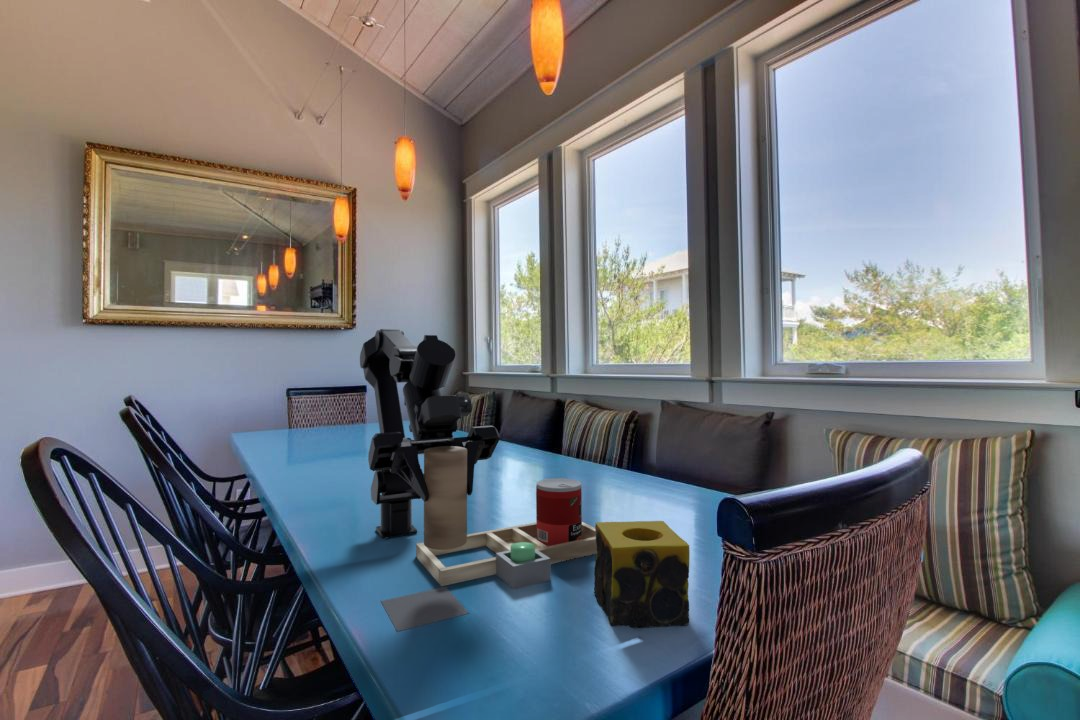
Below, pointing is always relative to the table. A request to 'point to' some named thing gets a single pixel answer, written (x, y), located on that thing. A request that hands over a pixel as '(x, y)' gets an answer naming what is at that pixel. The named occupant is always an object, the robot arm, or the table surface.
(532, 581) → the grey square box
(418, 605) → the rubber mat
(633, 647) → the table surface
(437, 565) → the birch frame
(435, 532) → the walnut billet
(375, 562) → the table surface
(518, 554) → the button
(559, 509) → the canned food
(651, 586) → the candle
